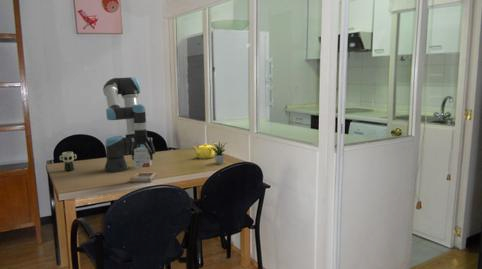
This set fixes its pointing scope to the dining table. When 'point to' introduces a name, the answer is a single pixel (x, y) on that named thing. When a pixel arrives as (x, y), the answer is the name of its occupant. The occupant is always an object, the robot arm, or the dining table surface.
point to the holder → (143, 177)
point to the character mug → (68, 160)
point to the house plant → (219, 153)
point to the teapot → (205, 151)
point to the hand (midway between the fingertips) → (143, 165)
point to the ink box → (141, 157)
